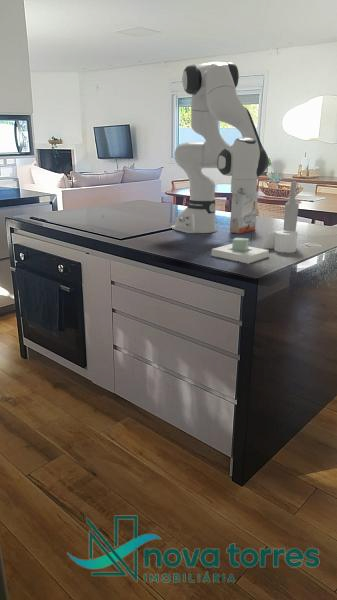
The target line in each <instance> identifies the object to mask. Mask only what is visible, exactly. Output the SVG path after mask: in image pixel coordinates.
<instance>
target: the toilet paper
mask: <svg viewBox="0 0 337 600" xmlns="http://www.w3.org/2000/svg"><path fill="white" fill-rule="evenodd" d="M298 235H299V234H298V232H297V231H296V232H295V231H287V230H283V229H282V230H276V231H271V232H268V233H266V234H265V239H264V243H263V248H262V249H265V250H268V249H274V251H275V252H277V253H278V252H279V253H284V252H286V253H290V254H291V253H295V252H297V245H298V244H297V243H298ZM286 253H285V254H286Z"/></svg>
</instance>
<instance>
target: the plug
mask: <svg viewBox="0 0 337 600" xmlns="http://www.w3.org/2000/svg"><path fill="white" fill-rule="evenodd" d="M231 244H232V250H233V251H238V252H243V253H244V252H247V251H248V248H249V247H250V246H249V244H250V238H245V237H235V238H233V239H232V243H231Z"/></svg>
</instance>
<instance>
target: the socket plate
mask: <svg viewBox="0 0 337 600" xmlns="http://www.w3.org/2000/svg"><path fill="white" fill-rule="evenodd" d="M269 254H270V250H269V249H263V248H259V247H253V246H249V248H248V251H247V252H244V253H243V252H238V251H233V250H232V243H229V244H225V245H222V246H219V247H215V248H211V256H212V257H216V258H222V259H225V260H230V261H235V262H238V261H239V262H238V263H243V264H251V263H254V262H257V261H261V260H263V259H266V258H269Z"/></svg>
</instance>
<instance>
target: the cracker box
mask: <svg viewBox="0 0 337 600" xmlns="http://www.w3.org/2000/svg"><path fill="white" fill-rule="evenodd" d="M259 187H260V186H259V184H257V190H256V193H255V197H254V204H253V209H252V211H250V212H249V213H248V214H246V220H245V226H244V227H243V228H239V227H238V218H232V216H231V215H230V224H229V233H232V234H238V235H241V234H244V233H249V232H252V231H255V230H256V224H257V223H256V221H257V211H258V210H257V209H258V199H259V198H258V197H259ZM233 196H234V193H231V200H232V199H233ZM230 206H231V207H230V209H232V204H231V205H230Z"/></svg>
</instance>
